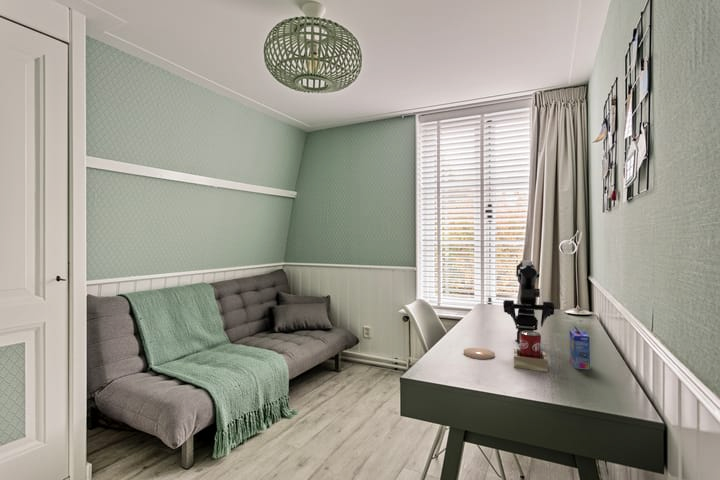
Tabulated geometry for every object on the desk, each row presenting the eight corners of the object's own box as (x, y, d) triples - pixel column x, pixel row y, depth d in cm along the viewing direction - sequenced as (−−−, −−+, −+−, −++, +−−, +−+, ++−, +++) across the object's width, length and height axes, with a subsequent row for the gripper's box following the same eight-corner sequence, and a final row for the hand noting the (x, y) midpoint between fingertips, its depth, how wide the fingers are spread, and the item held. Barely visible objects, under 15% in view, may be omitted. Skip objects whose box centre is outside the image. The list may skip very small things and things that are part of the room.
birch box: (513, 358, 152) (513, 348, 152) (544, 362, 148) (544, 351, 148) (514, 367, 141) (514, 356, 141) (547, 371, 137) (547, 360, 137)
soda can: (540, 363, 146) (541, 331, 146) (540, 369, 140) (541, 336, 140) (519, 360, 149) (520, 329, 149) (518, 366, 143) (519, 333, 143)
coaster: (482, 349, 164) (482, 347, 164) (501, 357, 153) (501, 355, 153) (457, 351, 160) (457, 349, 160) (474, 360, 149) (474, 357, 149)
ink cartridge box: (568, 360, 151) (569, 323, 151) (584, 362, 149) (585, 324, 149) (573, 368, 141) (574, 328, 141) (590, 370, 139) (591, 330, 139)
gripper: (503, 280, 160) (502, 313, 150) (553, 281, 152) (555, 315, 143) (504, 296, 167) (503, 328, 158) (552, 297, 160) (555, 331, 150)
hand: (528, 325), depth 152 cm, fingers open, 9 cm apart
